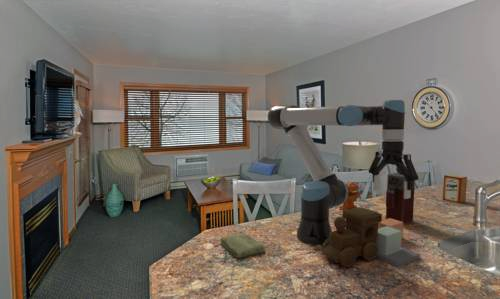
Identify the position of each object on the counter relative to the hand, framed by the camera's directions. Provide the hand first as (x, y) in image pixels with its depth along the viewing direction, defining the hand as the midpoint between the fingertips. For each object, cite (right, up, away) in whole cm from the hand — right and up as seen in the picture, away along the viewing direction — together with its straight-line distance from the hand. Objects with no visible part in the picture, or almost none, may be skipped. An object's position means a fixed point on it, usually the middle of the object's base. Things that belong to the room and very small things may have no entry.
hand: (391, 194), depth 112 cm
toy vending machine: (+19, -18, +31) cm, 40 cm away
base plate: (-4, -21, -4) cm, 22 cm away
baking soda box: (+71, -14, +64) cm, 97 cm away
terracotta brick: (+4, -20, +10) cm, 23 cm away
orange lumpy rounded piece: (-2, -17, +41) cm, 44 cm away
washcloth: (-59, -22, +2) cm, 63 cm away
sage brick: (-4, -20, -4) cm, 21 cm away
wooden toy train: (-19, -22, -8) cm, 30 cm away
